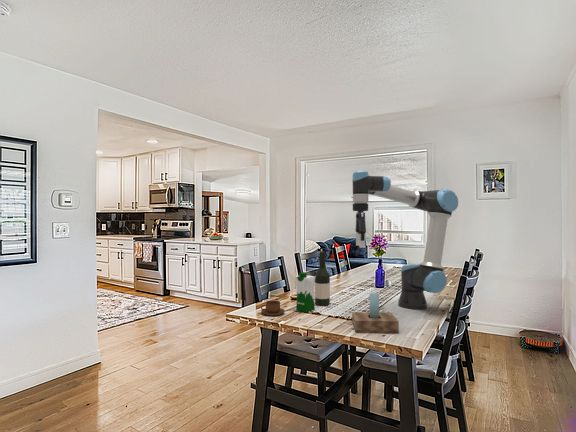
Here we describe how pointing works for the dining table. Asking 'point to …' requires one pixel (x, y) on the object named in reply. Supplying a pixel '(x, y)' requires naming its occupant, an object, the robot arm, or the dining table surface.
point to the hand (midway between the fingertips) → (360, 246)
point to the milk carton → (305, 292)
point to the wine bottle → (322, 283)
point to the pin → (374, 305)
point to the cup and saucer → (272, 308)
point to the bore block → (375, 323)
